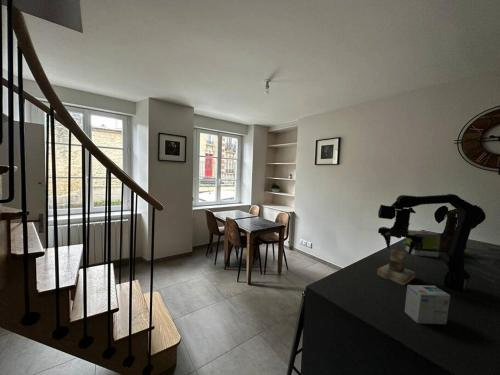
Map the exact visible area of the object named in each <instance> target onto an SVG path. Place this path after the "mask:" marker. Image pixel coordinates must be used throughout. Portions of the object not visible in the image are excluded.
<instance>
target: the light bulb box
mask: <svg viewBox="0 0 500 375" xmlns="http://www.w3.org/2000/svg"><path fill="white" fill-rule="evenodd" d="M406 287H407V288H406V295H405V296H406V297H405V304H404V305H405V306H404V312H405V314H407V315H408V316H409V317H410V318H411V319H412V320H413V321H414V322H416V323H417V324H427V325H428V324H429V325H431V324H434V325H447V322H448V315H449V314H448V313H449V306H450V301H451V295H450V294H449V293H447V292H446V291H444V290H443V289H440V288H439V287H437V286H436V285H417V284H414V285H413V284H407V286H406Z"/></svg>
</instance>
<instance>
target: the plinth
mask: <svg viewBox="0 0 500 375" xmlns="http://www.w3.org/2000/svg"><path fill="white" fill-rule="evenodd" d="M389 263H390V262H389ZM389 263H387V264H384V265H383V266H382V265H381V267H378V268H377V271H376V275H377V276H378V277H382V278H383V279H386V280H388V281H389V280H390V281H393V282H395V283H397V284H399V285H403V286H405V285H408V283H410V282H411V281H412V280H413V279H415V277H416V272H415V271H413V270H410V269H407V268H404V271H403V272H401V273H398V272H395V271H392V270H390V269H389Z"/></svg>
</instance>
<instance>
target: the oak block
mask: <svg viewBox="0 0 500 375" xmlns="http://www.w3.org/2000/svg"><path fill="white" fill-rule="evenodd" d="M406 255H407V251H406V250H402V249H398V248H393V249H391V250H390V255H389V256H390V257H389V261H390V260H393V261H396V262H399V263H403V262H405V263H406V258H407V256H406Z"/></svg>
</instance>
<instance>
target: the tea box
mask: <svg viewBox="0 0 500 375" xmlns="http://www.w3.org/2000/svg"><path fill="white" fill-rule="evenodd" d="M408 231H409V233H408V234H409V235H414V234H417V235H422V236H424V237H425V242H424V243H422V244H421V243H420V244H417V245H416V246H415V248H414V249H413V251H412V252H411V254H410V255H413V256H422V257H434V258H438V257H440V256H439V255H440V254H439V253H440V251H439V246H440V235H438V234H439V233H435V232H432V231H429V230H428V231H427V230H417V229H415V230H413V229H412V230H411V229H408ZM405 241H406V242H405V251H406V252H408V253H409V248H410V242H411V241H412V240H411V239H409V238H406V240H405Z"/></svg>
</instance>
